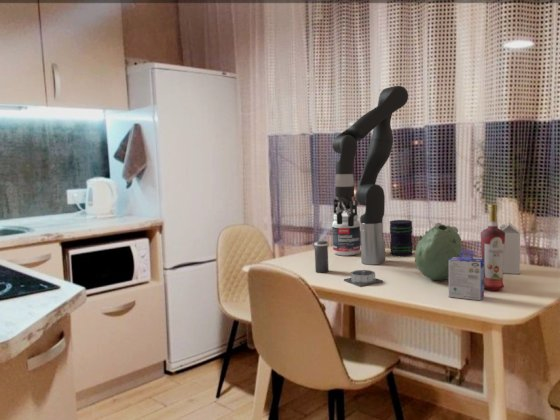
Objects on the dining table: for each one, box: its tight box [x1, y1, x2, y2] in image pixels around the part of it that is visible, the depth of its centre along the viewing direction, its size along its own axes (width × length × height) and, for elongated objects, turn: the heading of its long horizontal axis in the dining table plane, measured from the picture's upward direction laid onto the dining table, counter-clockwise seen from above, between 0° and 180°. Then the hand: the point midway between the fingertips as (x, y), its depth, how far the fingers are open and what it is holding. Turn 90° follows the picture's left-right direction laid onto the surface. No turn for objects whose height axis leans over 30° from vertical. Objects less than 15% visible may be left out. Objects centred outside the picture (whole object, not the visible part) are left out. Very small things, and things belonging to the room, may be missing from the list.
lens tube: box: [313, 240, 329, 274], centre depth 194 cm, size 5×5×12 cm
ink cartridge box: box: [448, 250, 485, 301], centre depth 152 cm, size 10×6×14 cm, turn 58°
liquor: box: [480, 203, 505, 292], centre depth 158 cm, size 7×7×28 cm
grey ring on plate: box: [343, 269, 384, 287], centre depth 176 cm, size 10×10×3 cm
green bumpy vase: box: [414, 222, 464, 281], centre depth 173 cm, size 16×19×20 cm
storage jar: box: [389, 219, 414, 257], centre depth 218 cm, size 10×10×15 cm
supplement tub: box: [331, 212, 361, 257], centre depth 225 cm, size 13×13×18 cm
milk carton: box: [498, 219, 521, 275], centre depth 179 cm, size 7×7×19 cm
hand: (345, 225), depth 197 cm, fingers open, 8 cm apart
